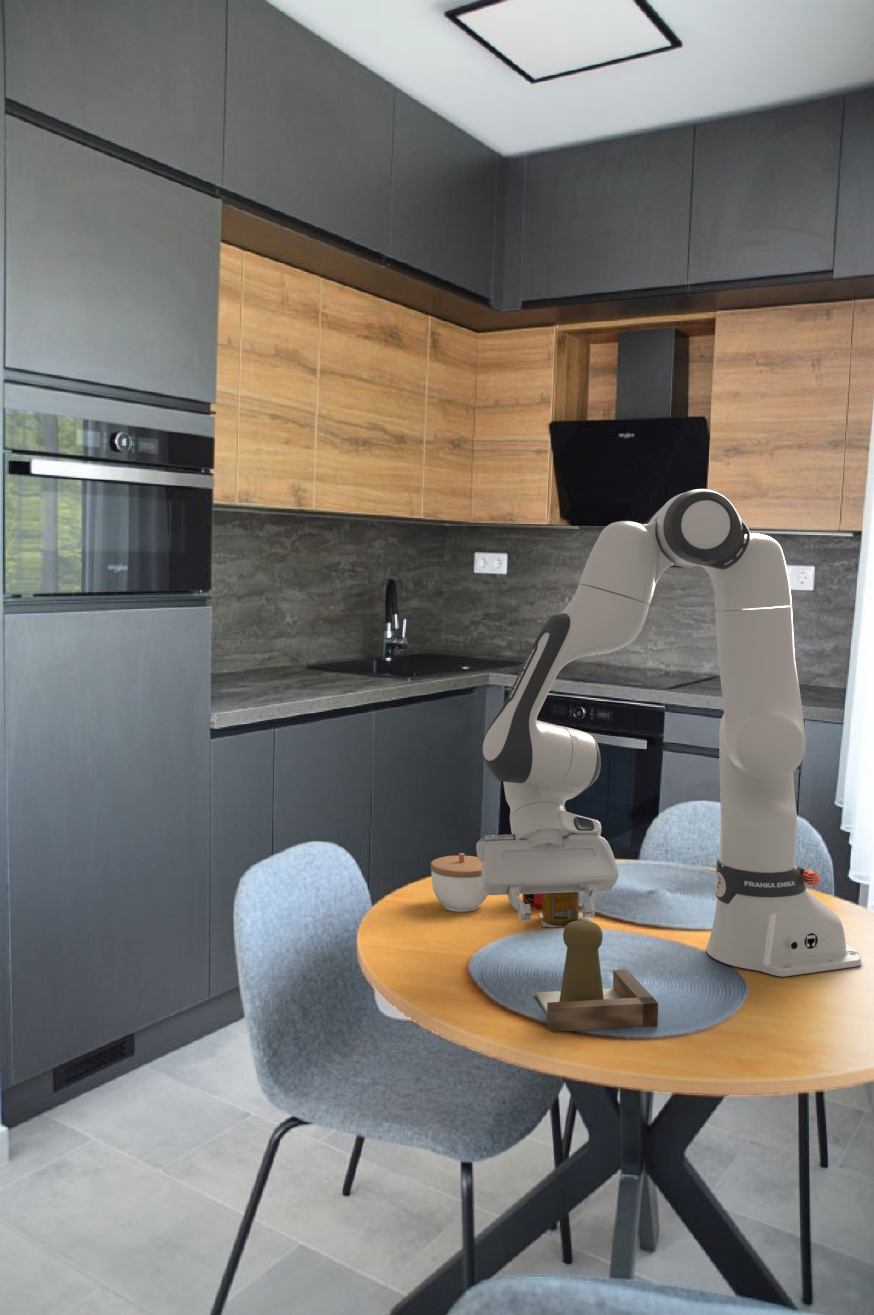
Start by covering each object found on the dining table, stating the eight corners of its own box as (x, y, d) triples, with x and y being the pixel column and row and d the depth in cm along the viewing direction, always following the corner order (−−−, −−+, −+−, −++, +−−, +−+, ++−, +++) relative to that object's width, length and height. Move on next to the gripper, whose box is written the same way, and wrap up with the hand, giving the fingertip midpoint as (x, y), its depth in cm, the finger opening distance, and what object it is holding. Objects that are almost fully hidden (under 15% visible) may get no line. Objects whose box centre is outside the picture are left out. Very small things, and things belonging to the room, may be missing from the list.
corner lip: (626, 990, 148) (627, 969, 148) (657, 1025, 137) (658, 1003, 136) (528, 995, 146) (528, 974, 146) (551, 1032, 134) (551, 1008, 134)
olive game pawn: (607, 1013, 139) (609, 930, 139) (561, 1013, 139) (562, 930, 139) (601, 995, 145) (602, 916, 145) (556, 995, 145) (557, 915, 145)
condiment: (538, 914, 183) (539, 845, 182) (588, 914, 183) (589, 845, 182) (542, 928, 175) (543, 855, 174) (594, 928, 175) (595, 856, 174)
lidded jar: (504, 908, 186) (505, 855, 185) (457, 920, 179) (458, 865, 178) (464, 894, 194) (465, 843, 193) (417, 905, 187) (418, 852, 186)
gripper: (477, 824, 159) (490, 909, 150) (610, 821, 162) (630, 903, 153) (471, 847, 163) (483, 930, 154) (600, 843, 167) (619, 924, 158)
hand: (557, 917), depth 154 cm, fingers open, 8 cm apart
